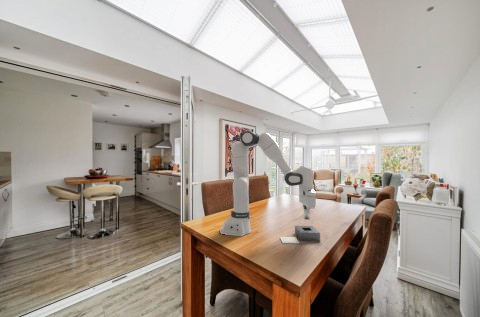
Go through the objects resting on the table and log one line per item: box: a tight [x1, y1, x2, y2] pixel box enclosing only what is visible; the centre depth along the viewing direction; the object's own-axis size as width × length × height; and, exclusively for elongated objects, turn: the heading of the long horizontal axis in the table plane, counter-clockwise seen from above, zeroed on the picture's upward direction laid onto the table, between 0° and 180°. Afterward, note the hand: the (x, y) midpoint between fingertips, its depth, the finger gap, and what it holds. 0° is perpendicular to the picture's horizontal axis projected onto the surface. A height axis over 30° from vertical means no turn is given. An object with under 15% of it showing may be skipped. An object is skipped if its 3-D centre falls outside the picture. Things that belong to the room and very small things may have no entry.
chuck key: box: [303, 205, 311, 220], centre depth 113 cm, size 4×4×9 cm
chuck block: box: [294, 225, 321, 242], centre depth 113 cm, size 12×12×5 cm
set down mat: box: [279, 236, 300, 245], centre depth 107 cm, size 10×8×1 cm
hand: (306, 212), depth 113 cm, fingers closed on chuck key, 4 cm apart
